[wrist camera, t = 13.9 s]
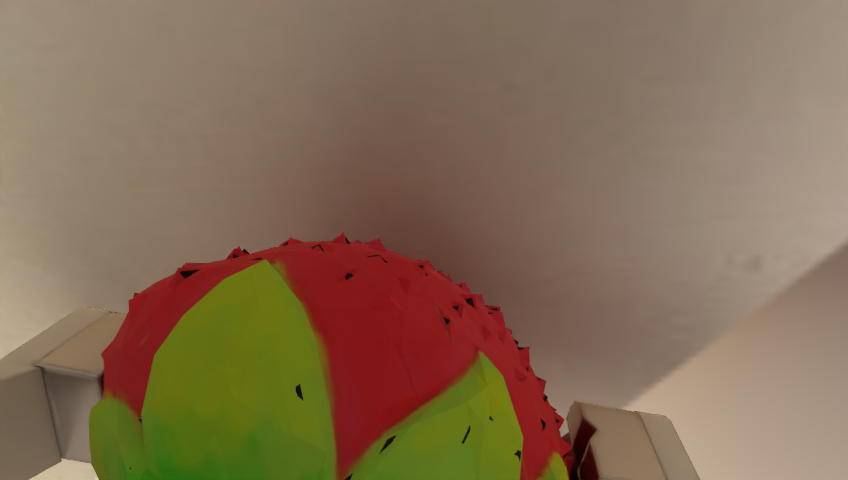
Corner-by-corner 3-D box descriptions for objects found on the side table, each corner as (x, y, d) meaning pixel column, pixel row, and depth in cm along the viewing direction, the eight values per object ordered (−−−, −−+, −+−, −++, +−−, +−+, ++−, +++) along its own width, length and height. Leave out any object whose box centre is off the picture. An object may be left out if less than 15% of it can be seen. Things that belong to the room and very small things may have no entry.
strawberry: (371, 87, 10) (-679, 539, 1) (591, 317, 12) (981, 1347, 2) (219, 252, 12) (-593, 903, 3) (422, 430, 14) (293, 1225, 5)
